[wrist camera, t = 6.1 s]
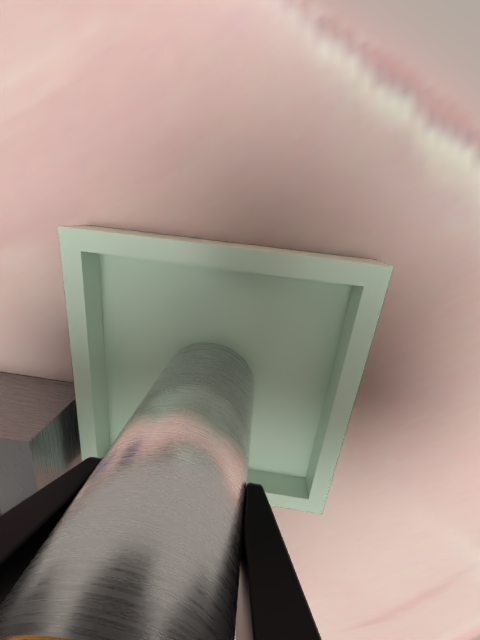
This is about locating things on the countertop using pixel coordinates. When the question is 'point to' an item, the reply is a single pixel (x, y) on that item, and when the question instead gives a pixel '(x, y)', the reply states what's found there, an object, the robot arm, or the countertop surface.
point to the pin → (152, 519)
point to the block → (35, 435)
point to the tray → (224, 339)
